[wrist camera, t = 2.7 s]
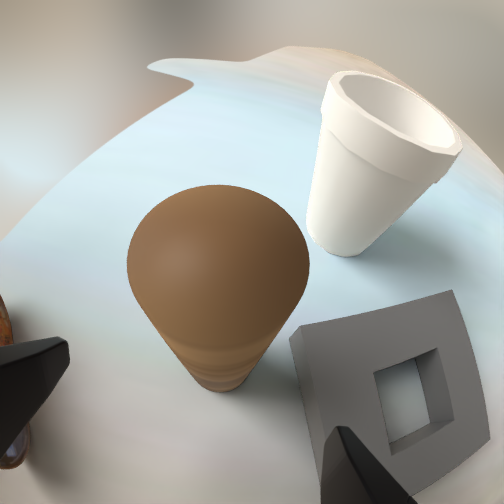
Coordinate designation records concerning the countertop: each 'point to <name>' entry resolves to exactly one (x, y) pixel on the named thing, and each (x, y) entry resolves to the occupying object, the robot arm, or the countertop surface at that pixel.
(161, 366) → the countertop surface
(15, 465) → the tin
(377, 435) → the socket block
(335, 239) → the foam cup
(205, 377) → the peg
